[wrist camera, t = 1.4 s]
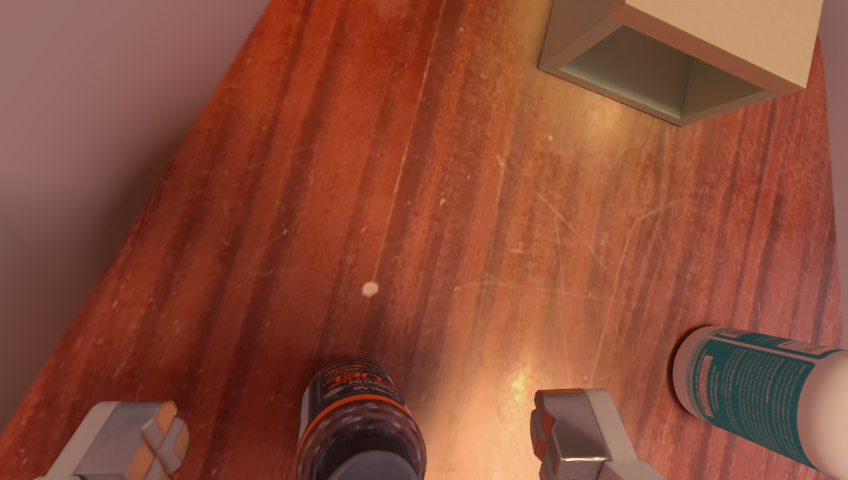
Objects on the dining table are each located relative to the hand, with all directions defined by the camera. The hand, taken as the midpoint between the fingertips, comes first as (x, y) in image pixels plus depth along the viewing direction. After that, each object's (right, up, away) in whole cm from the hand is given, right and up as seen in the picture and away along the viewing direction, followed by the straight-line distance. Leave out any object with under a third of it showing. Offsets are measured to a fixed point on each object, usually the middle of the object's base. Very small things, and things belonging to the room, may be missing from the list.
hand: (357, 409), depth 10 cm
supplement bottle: (-3, -6, +18) cm, 19 cm away
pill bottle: (+24, -7, +25) cm, 35 cm away
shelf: (+17, +19, +23) cm, 34 cm away
